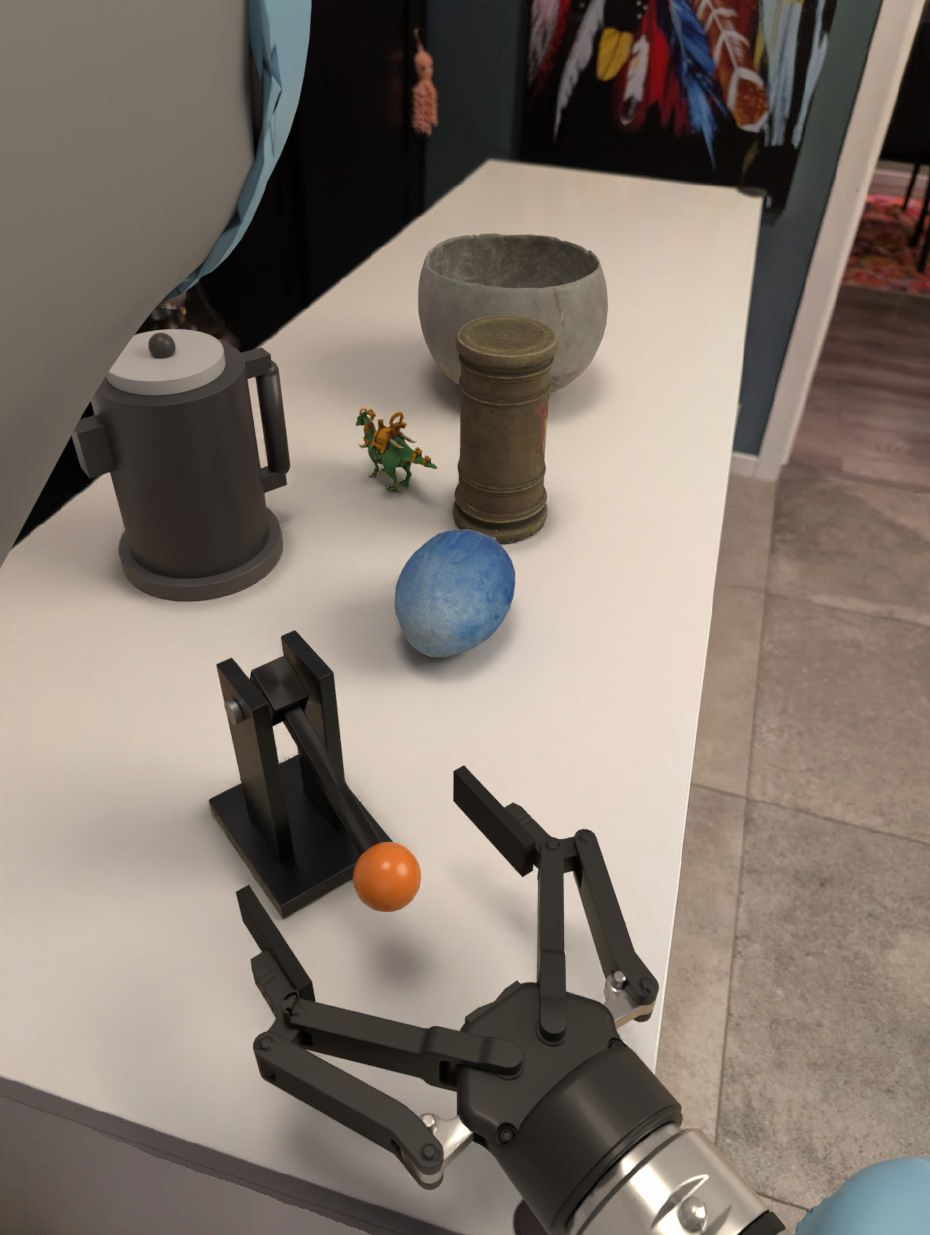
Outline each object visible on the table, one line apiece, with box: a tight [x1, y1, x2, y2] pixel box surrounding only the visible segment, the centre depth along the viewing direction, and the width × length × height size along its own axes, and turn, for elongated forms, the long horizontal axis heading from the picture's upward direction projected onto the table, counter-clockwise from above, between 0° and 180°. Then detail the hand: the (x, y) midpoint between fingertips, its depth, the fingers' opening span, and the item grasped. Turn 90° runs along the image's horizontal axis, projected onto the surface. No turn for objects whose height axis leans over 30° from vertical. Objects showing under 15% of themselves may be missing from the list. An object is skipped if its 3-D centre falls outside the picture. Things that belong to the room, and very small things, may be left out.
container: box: [452, 315, 558, 544], centre depth 85 cm, size 9×9×18 cm
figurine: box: [355, 407, 438, 492], centre depth 92 cm, size 3×12×8 cm, turn 42°
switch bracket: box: [208, 630, 394, 919], centre depth 58 cm, size 10×8×15 cm
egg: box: [394, 529, 516, 659], centre depth 76 cm, size 9×9×15 cm
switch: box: [249, 655, 422, 913], centre depth 52 cm, size 15×4×4 cm, turn 37°
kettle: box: [71, 328, 291, 602], centre depth 79 cm, size 17×14×20 cm
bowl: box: [417, 232, 609, 394], centre depth 105 cm, size 20×20×15 cm
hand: (357, 839), depth 53 cm, fingers open, 13 cm apart
